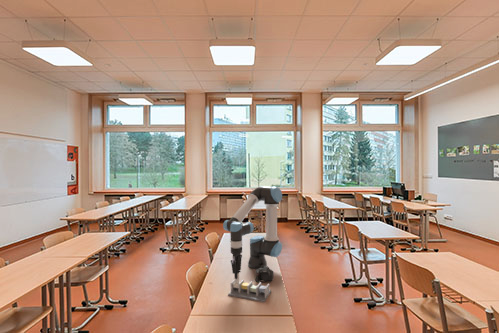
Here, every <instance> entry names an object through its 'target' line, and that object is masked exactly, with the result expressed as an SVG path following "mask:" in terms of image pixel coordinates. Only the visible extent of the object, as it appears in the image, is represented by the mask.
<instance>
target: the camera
mask: <svg viewBox="0 0 499 333" xmlns="http://www.w3.org/2000/svg"><path fill="white" fill-rule="evenodd" d="M254 273H255V274H254V276H255V281H256V283H258V282H259V283H260V282H266V283H267V282H272V281H273V280H274V279H275V278H274V277H275V276H274V270H272V269H271V268H270V267H268V265H267V266H265V267H263V268H259V269H255V272H254Z"/></svg>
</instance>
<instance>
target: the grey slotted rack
mask: <svg viewBox="0 0 499 333" xmlns="http://www.w3.org/2000/svg"><path fill="white" fill-rule="evenodd" d="M234 282H235V279H233V280H232V281H230V291H229V293H228V295H227V296H230V297H235V298H239V299H240V298H241V299H245V300H250V301H256V302H261V303H265V302H266V301H267V299H268V297H269V296H270V294H271V293H272V289H270V283H267V285H265V286H266V287H265V293H264V292H259V288H260V286H261V285H262V281H259V283H258V284H257V285H256V286H257V287H256V292H251V291H250V287H251V286H252V285H253V281H252V280H251V281H249V282H248V283H249V284H248V285H247V289H242V286H241V285H242V284H243V283H244V282H245V279H242V280H241V281H239V282H240V283H239V284H238V285H239V288H234V287H233V283H234Z"/></svg>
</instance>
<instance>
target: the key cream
mask: <svg viewBox="0 0 499 333" xmlns="http://www.w3.org/2000/svg"><path fill="white" fill-rule="evenodd" d="M240 282H241V281H239V283H240ZM239 283H235V282H234V283H233V287H234V288H239V285H238V284H239Z"/></svg>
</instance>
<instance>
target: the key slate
mask: <svg viewBox="0 0 499 333" xmlns="http://www.w3.org/2000/svg"><path fill="white" fill-rule="evenodd" d="M266 286H267V285H262V284H261V286H260V288H259V292H264V293H265V287H266Z"/></svg>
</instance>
